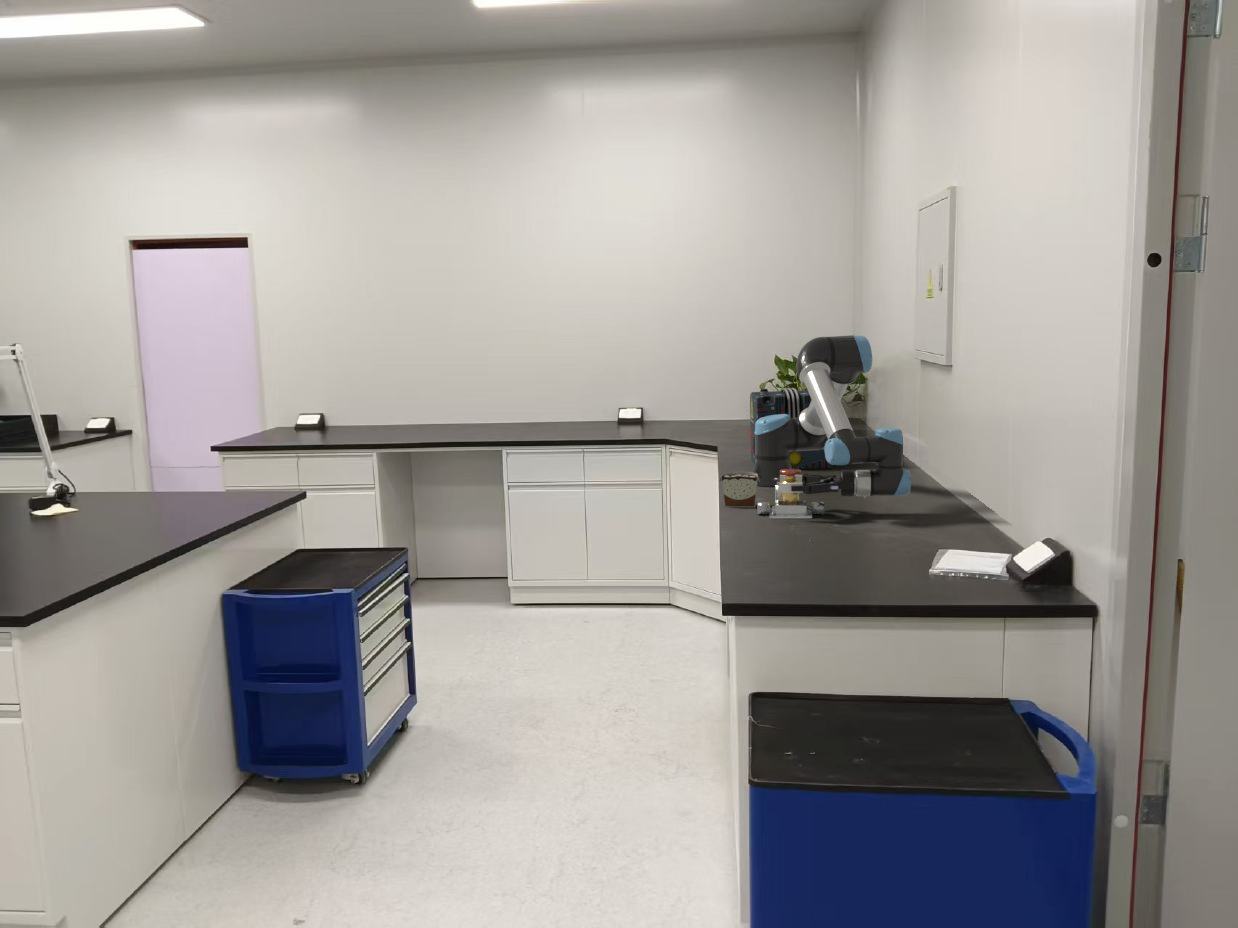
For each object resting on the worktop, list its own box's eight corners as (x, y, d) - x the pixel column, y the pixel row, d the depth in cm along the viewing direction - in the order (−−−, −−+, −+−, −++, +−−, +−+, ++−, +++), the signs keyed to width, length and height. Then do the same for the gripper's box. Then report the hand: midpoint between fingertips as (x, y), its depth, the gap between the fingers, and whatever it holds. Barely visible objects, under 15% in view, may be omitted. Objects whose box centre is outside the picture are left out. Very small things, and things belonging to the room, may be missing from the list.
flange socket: (758, 510, 292) (757, 498, 292) (823, 509, 289) (823, 498, 288) (756, 518, 280) (756, 506, 280) (824, 518, 277) (824, 505, 277)
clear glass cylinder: (774, 504, 300) (773, 476, 299) (787, 504, 299) (786, 476, 298) (773, 506, 296) (773, 479, 295) (787, 506, 295) (786, 478, 294)
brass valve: (780, 509, 288) (780, 468, 286) (801, 509, 287) (800, 468, 285) (780, 513, 282) (779, 471, 280) (801, 513, 281) (800, 471, 279)
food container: (762, 503, 302) (762, 471, 301) (760, 507, 296) (759, 475, 295) (723, 503, 305) (722, 471, 304) (719, 506, 300) (719, 474, 298)
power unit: (750, 460, 392) (749, 385, 388) (819, 457, 391) (819, 383, 386) (758, 471, 364) (756, 390, 360) (832, 468, 363) (831, 388, 359)
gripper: (857, 504, 268) (779, 504, 272) (851, 488, 293) (780, 488, 296) (857, 477, 267) (778, 478, 271) (851, 463, 292) (780, 464, 295)
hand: (779, 483), depth 284 cm, fingers open, 13 cm apart
